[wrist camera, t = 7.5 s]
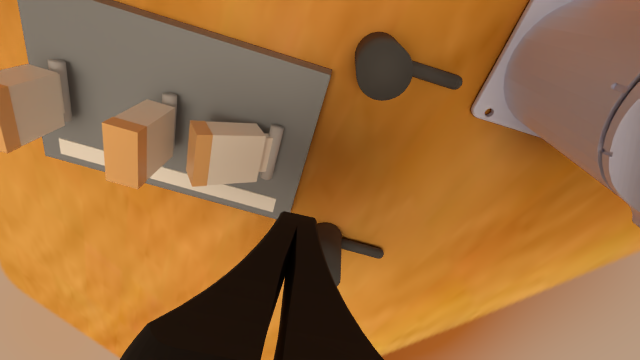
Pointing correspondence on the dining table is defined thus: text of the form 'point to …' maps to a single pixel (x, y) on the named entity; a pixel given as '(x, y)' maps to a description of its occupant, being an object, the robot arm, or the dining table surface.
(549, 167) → the dining table surface
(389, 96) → the dark cylinders with handles
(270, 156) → the tan rectangular block
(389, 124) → the dining table surface
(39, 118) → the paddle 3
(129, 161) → the orange and brown block
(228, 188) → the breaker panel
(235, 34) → the dining table surface
